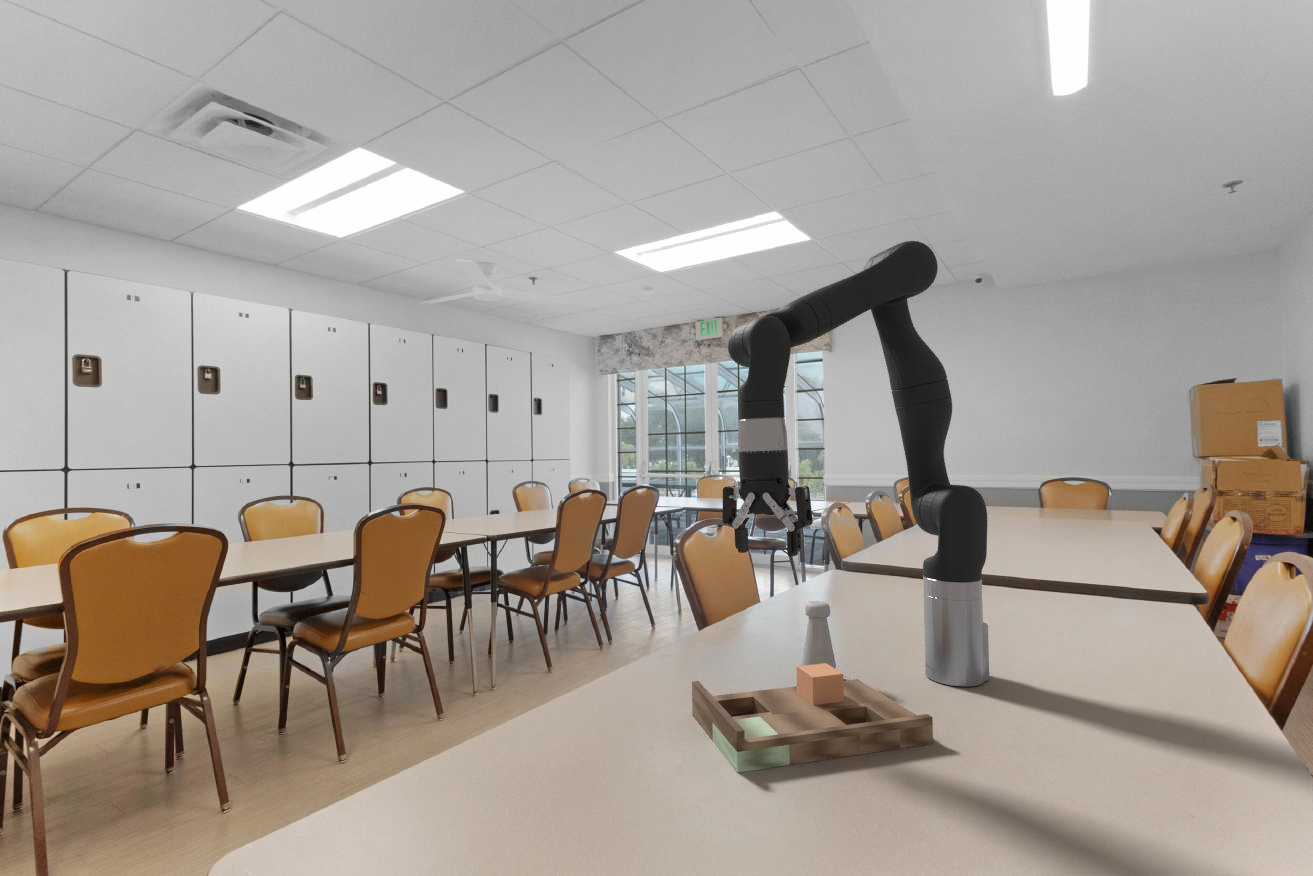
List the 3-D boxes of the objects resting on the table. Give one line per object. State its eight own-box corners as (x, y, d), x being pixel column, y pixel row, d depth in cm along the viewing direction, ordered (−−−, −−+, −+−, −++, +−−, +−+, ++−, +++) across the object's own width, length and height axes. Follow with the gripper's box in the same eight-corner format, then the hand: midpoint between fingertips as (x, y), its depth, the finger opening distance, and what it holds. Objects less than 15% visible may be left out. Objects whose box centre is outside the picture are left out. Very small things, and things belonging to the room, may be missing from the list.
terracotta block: (826, 689, 99) (825, 663, 99) (843, 701, 94) (843, 673, 94) (797, 692, 97) (796, 666, 97) (813, 705, 92) (812, 677, 93)
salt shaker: (837, 684, 107) (835, 606, 108) (802, 682, 109) (800, 605, 109) (834, 672, 113) (833, 599, 113) (801, 670, 114) (800, 598, 115)
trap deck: (857, 694, 103) (857, 663, 103) (933, 743, 85) (932, 705, 85) (692, 715, 96) (691, 681, 96) (737, 772, 78) (736, 731, 78)
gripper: (816, 446, 97) (821, 553, 97) (735, 449, 106) (739, 547, 105) (794, 447, 91) (799, 561, 91) (710, 450, 100) (715, 554, 99)
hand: (767, 553), depth 98 cm, fingers open, 8 cm apart
